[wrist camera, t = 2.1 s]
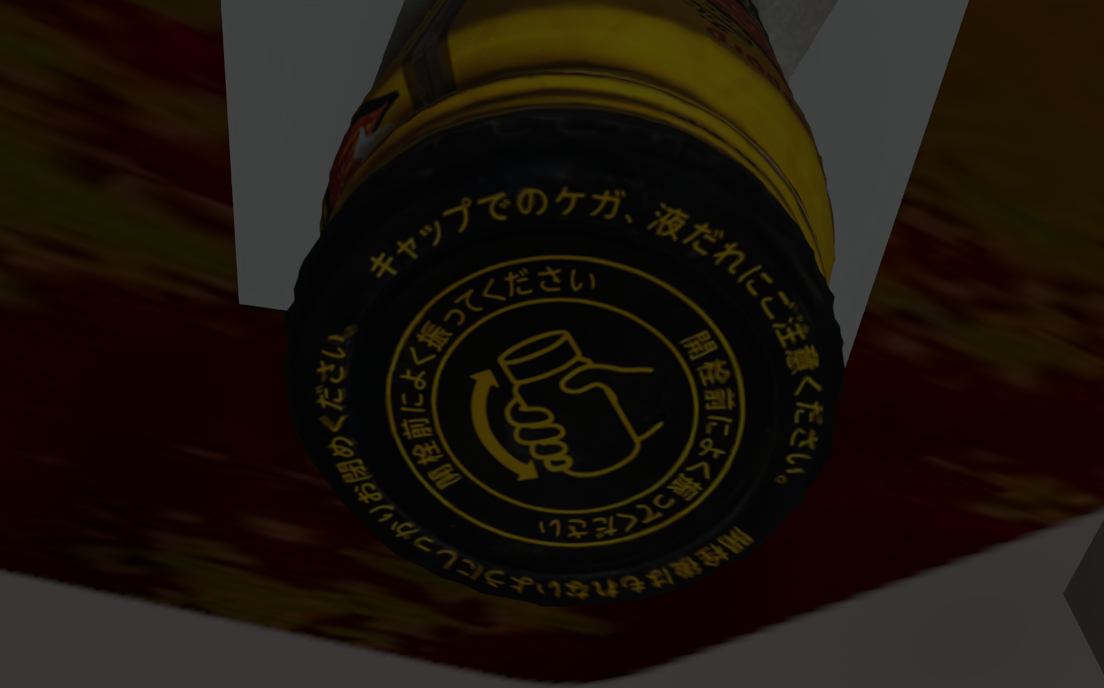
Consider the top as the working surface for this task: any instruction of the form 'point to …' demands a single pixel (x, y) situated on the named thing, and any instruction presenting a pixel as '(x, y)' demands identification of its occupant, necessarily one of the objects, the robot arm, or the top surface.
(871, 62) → the sheet
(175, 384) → the top surface
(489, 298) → the condiment
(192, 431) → the top surface
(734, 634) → the top surface
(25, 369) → the top surface
